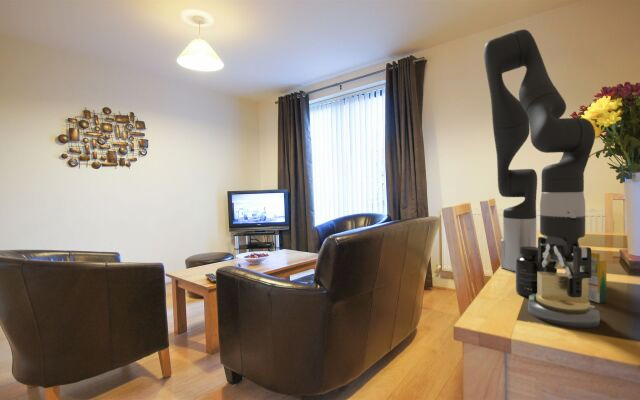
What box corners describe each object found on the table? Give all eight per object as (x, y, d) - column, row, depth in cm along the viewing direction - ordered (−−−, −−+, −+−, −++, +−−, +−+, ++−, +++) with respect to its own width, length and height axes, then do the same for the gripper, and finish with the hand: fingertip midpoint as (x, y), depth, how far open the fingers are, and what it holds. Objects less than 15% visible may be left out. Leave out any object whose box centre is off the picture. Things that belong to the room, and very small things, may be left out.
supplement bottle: (519, 288, 84) (519, 244, 83) (550, 294, 79) (550, 247, 78) (512, 294, 79) (512, 248, 78) (545, 301, 74) (545, 251, 74)
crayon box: (607, 301, 73) (607, 252, 72) (599, 303, 72) (599, 254, 71) (572, 292, 80) (572, 247, 79) (565, 293, 79) (565, 248, 78)
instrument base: (518, 313, 67) (518, 300, 67) (539, 301, 74) (539, 288, 74) (590, 333, 57) (590, 318, 57) (606, 316, 64) (606, 302, 64)
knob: (543, 310, 63) (543, 277, 63) (530, 295, 71) (530, 266, 71) (598, 315, 60) (598, 280, 60) (578, 299, 68) (578, 269, 68)
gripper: (525, 211, 73) (525, 280, 73) (563, 216, 59) (563, 301, 59) (560, 211, 71) (560, 280, 72) (608, 216, 57) (607, 303, 58)
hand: (561, 290), depth 66 cm, fingers open, 7 cm apart
